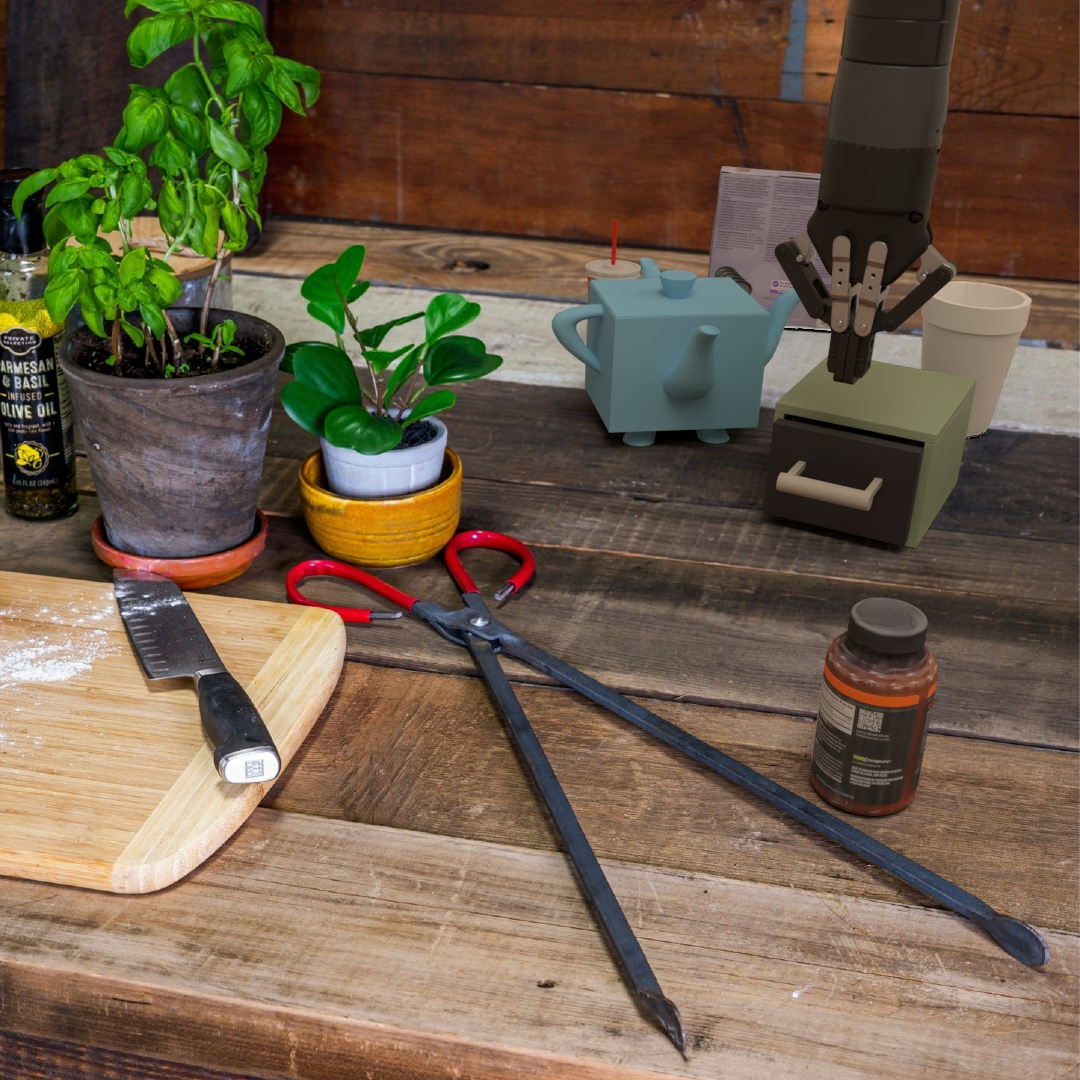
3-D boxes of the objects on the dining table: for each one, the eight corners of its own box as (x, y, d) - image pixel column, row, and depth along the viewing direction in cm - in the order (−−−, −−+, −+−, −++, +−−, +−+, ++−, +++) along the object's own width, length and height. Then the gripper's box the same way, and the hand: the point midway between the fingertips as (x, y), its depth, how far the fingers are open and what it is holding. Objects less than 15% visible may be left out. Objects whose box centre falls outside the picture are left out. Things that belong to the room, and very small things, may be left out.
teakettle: (533, 430, 118) (537, 275, 111) (638, 377, 132) (647, 237, 125) (711, 482, 108) (727, 316, 102) (804, 419, 122) (823, 270, 115)
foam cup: (931, 447, 117) (955, 311, 111) (886, 411, 125) (907, 282, 119) (1023, 441, 118) (1052, 307, 113) (973, 407, 127) (998, 280, 121)
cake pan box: (864, 324, 151) (886, 173, 143) (866, 336, 147) (889, 182, 139) (704, 312, 154) (717, 163, 146) (701, 323, 149) (715, 171, 141)
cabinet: (916, 549, 98) (937, 434, 94) (762, 512, 103) (775, 402, 99) (956, 483, 109) (977, 378, 105) (816, 453, 115) (830, 352, 110)
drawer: (887, 571, 92) (904, 475, 89) (741, 535, 97) (752, 441, 94) (943, 485, 107) (960, 398, 103) (814, 456, 112) (825, 373, 108)
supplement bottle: (888, 751, 74) (920, 583, 69) (933, 816, 69) (971, 640, 64) (792, 759, 73) (816, 590, 68) (830, 826, 68) (860, 647, 63)
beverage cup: (616, 358, 137) (623, 229, 131) (570, 346, 140) (575, 220, 134) (646, 344, 142) (654, 219, 135) (602, 333, 145) (608, 211, 139)
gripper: (769, 129, 83) (742, 378, 91) (974, 152, 78) (926, 414, 86) (805, 116, 89) (776, 350, 97) (996, 136, 84) (950, 383, 91)
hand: (846, 380), depth 91 cm, fingers closed
